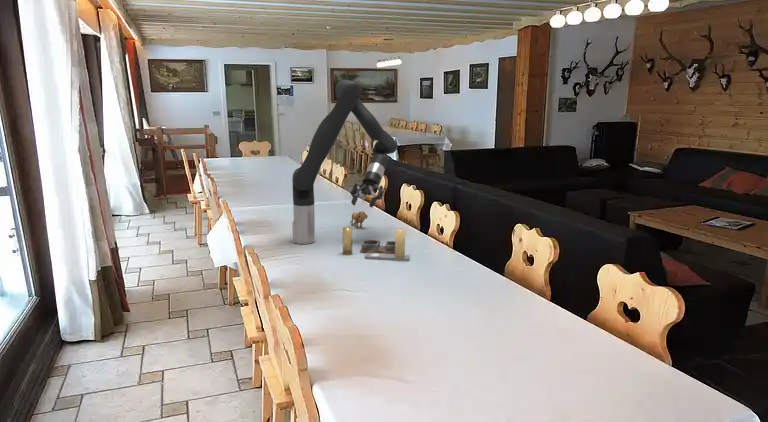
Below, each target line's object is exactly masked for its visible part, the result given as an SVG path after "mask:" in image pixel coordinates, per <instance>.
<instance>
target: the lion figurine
mask: <svg viewBox="0 0 768 422" xmlns="http://www.w3.org/2000/svg"><path fill="white" fill-rule="evenodd" d="M368 217H369V215H368V214H367V213H366V211H364V210H362V211H359V212H355V211H354V212H353V213H352V214H351V220H350V221H349V223H351V224H350V227H353V226H354V224H355V226H356V227H355V228H356V229H359V228H361V229H363V223H364V221H365V220H367V219H368Z"/></svg>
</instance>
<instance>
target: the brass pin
mask: <svg viewBox="0 0 768 422" xmlns="http://www.w3.org/2000/svg"><path fill="white" fill-rule="evenodd" d="M353 229H354V228H353V226H344V227H342V255H346V256H351V255H353V246H354V245H353V241H354V240H353V233H354V232H353Z"/></svg>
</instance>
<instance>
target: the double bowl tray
mask: <svg viewBox="0 0 768 422" xmlns="http://www.w3.org/2000/svg"><path fill="white" fill-rule="evenodd" d="M359 252H360V253H363V254H366V253H381V254H395V240H386V242H385V244H384V245H381V240H379V239H363V241H362V242H361V247H360V249H359Z"/></svg>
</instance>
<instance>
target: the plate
mask: <svg viewBox="0 0 768 422" xmlns="http://www.w3.org/2000/svg"><path fill="white" fill-rule="evenodd" d="M394 234H395V235H394V236H395V237H394V241H395V254H381V253H365V254H364V259H365V260H377V261H378V260H380V261H397V262H398V261H400V262H401V261H402V262H403V261H405V262H410V257H411V255H410V254H406V253H405V252H406V229H404V228H396V229H395V231H394Z"/></svg>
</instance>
